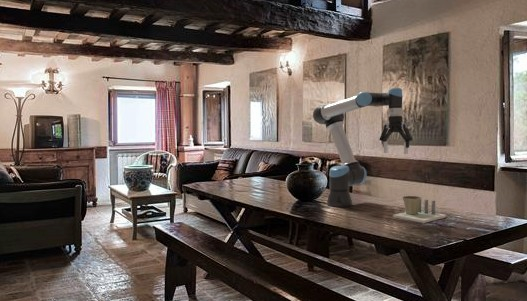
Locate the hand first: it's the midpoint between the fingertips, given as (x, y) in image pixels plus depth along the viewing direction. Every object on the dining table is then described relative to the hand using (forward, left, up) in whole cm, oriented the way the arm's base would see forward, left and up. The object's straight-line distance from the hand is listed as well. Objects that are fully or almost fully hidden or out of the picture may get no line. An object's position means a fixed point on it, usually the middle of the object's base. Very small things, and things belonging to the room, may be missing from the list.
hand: (395, 153), depth 246 cm
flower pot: (+18, -12, -31) cm, 37 cm away
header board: (+22, -11, -32) cm, 40 cm away
